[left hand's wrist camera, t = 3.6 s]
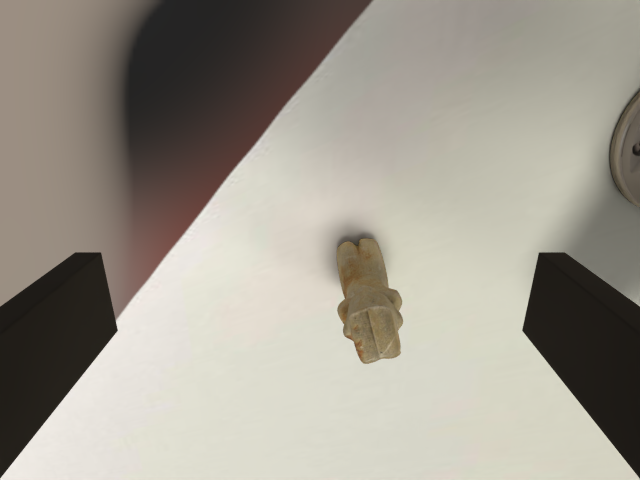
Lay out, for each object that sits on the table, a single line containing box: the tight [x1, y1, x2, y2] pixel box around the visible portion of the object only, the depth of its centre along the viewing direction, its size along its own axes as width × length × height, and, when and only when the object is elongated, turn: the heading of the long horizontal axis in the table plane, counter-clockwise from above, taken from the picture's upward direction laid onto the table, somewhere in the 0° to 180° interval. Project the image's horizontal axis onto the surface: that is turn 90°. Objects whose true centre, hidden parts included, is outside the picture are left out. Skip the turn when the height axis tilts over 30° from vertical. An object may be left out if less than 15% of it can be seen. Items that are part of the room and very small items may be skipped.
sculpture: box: [337, 239, 403, 364], centre depth 39 cm, size 6×7×15 cm
